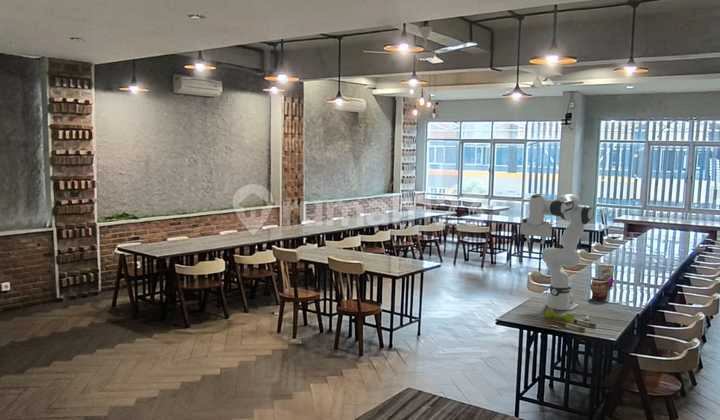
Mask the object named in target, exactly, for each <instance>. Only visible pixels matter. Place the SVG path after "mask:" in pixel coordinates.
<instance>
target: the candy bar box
mask: <svg viewBox="0 0 720 420" xmlns="http://www.w3.org/2000/svg"><path fill="white" fill-rule="evenodd" d="M614 269H615V265H614V264H608V263H607V264H606V263H598V265H597V276H596V279H604V280H607V281H608V284H609V287H614V272H615V270H614Z"/></svg>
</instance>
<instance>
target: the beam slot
mask: <svg viewBox="0 0 720 420" xmlns="http://www.w3.org/2000/svg"><path fill="white" fill-rule="evenodd" d="M555 319H556V318H554V319H553V320H552V319H548V318H545V317H543V318H542V323H545V322H546V324H549V325H554V326H558V327H562V328H566V329H569V330H574V331H578V332H582V333H585V331H586V327H589V328H593V329H595V328H597V323H595V322H591V321H590V322H588V321H583V319H579V318H575V320H574V323H573V324H569V323H566V321H565V320H563V321H562V320H558V319H557V320H555ZM579 325H581V326H579ZM584 326H585V327H584Z"/></svg>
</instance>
